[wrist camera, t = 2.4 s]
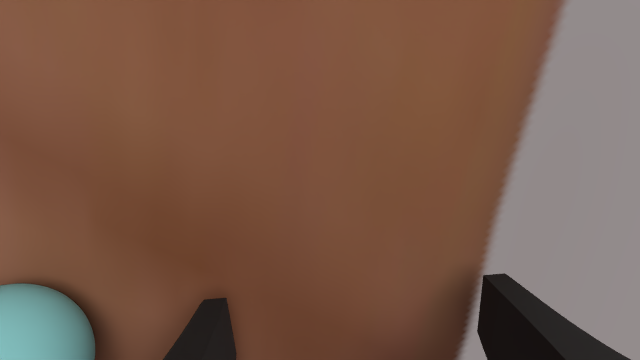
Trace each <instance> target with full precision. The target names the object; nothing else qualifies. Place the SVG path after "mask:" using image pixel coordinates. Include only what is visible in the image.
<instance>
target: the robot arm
mask: <svg viewBox="0 0 640 360" xmlns="http://www.w3.org/2000/svg"><path fill="white" fill-rule="evenodd" d="M477 331H478V335H479V337H480V340H481V343H482V346H483V349H484V352H485V354H486V357H487V360H630V359H629V358H627V357H625V356H623V355H622V354H620V353H618V352H616V351H615V350H613V349H611V348H610V347H608V346H606V345H605V344H603V343H601V342H600V341H598V340H597V339H595V338H594V337H592V336H591V335H589V334H588V333H586V332H585V331H583V330H582V329H580V328H579V327H577V326H576V325H574V324H573V323H571V322H570V321H568V320H567V319H566V318H564V317H563V316H561V315H560V314H559V313H557V312H556V311H554V310H553V309H552V308H550V307H549V306H548V305H546V304H545V303H543V302H542V301H541V300H540V299H538V298H537V297H536V296H534V295H533V294H532V293H530V292H529V291H528V290H526V289H525V288H524V287H522V286H521V285H520V284H518V283H517V282H516V281H515V280H513V279H512V278H510V277H509V276H508V275H506V274H493V275H483V284H482V293H481V302H480V312H479V321H478V330H477ZM163 360H236V349H235V343H234V338H233V332H232V326H231V321H230V315H229V310H228V304H227V299H226V298H218V299H207V300H204V301H203V302H202V303H201V304H200V306H199V307H198V309H197V310H196V312H195V314H194V315H193V317H192V318H191V320H190V322H189V323H188V325H187V326H186V328H185V329H184V331H183V332H182V334H181V335H180V337H179V338H178V339H177V341H176V342H175V344H174V345H173V346H172V348H171V349H170V351H169V352H168V353H167V355H166V356H165V358H164V359H163Z"/></svg>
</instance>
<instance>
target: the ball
mask: <svg viewBox="0 0 640 360" xmlns="http://www.w3.org/2000/svg"><path fill="white" fill-rule="evenodd" d="M0 360H95V339H94V334H93V331H92V327H91V325H90V323H89V321H88V319H87V317H86V315H85V314H84V312H83V311H82V310H81V308H80V307H79V306H78V305H77V304H76V303H75V302H74V301H73V300H71V299H70V298H69V297H67V296H66V295H64V294H62V293H61V292H58V291H56V290H54V289H51V288H49V287H45V286H41V285H35V284H25V283H19V284H8V285H1V286H0Z"/></svg>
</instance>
